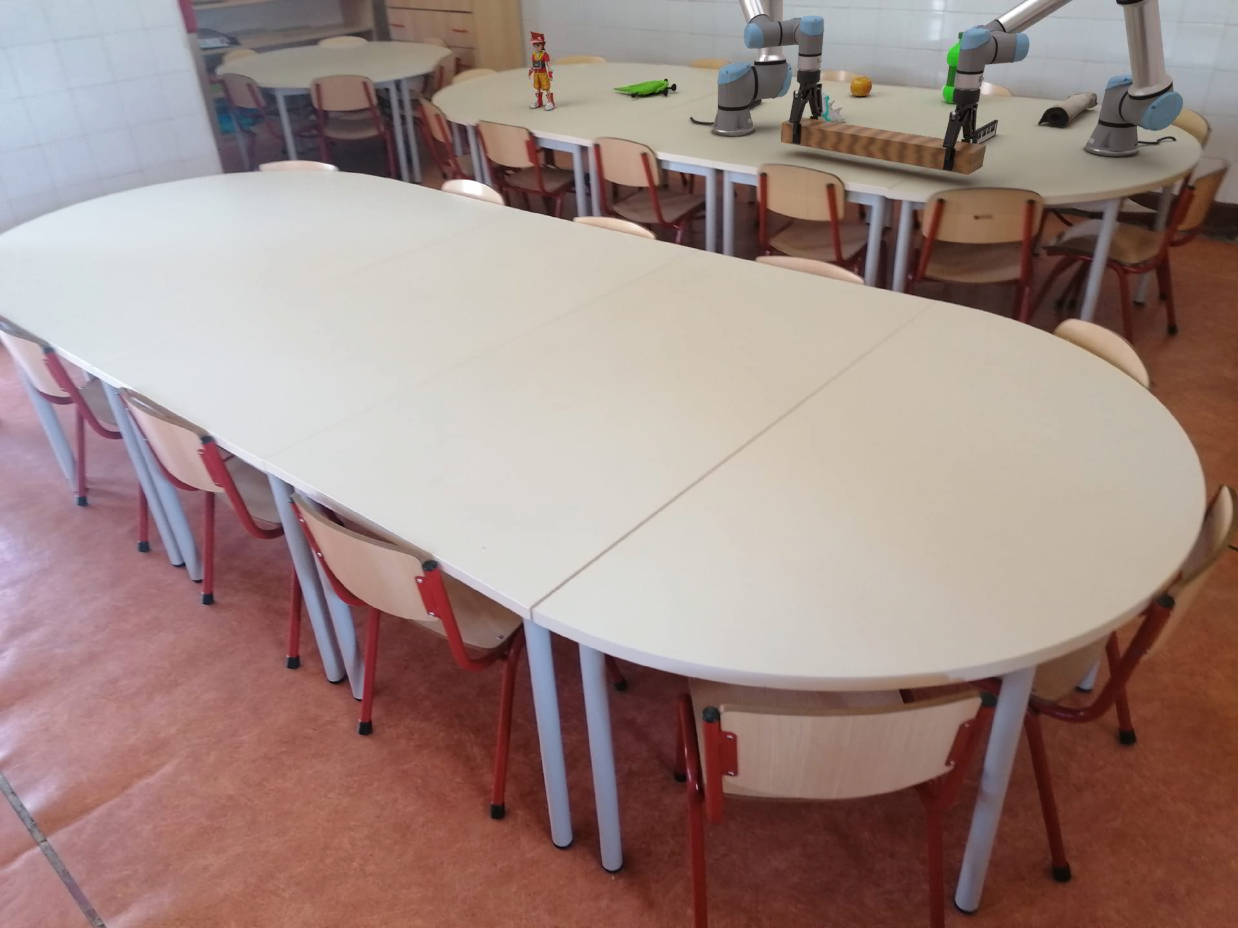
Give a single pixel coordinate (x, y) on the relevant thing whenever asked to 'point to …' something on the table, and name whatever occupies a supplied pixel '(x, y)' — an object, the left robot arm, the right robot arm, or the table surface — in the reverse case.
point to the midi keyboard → (985, 132)
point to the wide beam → (884, 145)
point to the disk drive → (754, 103)
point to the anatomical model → (830, 110)
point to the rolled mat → (1068, 109)
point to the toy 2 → (648, 88)
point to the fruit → (861, 86)
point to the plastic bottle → (952, 70)
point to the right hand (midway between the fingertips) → (955, 165)
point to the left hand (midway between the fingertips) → (804, 139)
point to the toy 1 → (541, 71)
